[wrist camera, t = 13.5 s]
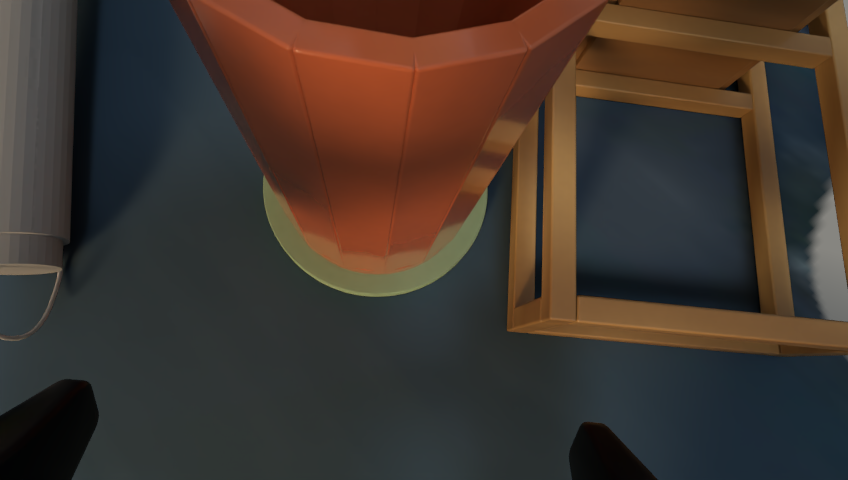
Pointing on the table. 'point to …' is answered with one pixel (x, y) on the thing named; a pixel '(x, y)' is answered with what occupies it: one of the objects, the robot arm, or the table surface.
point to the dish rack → (697, 92)
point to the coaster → (371, 282)
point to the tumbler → (383, 107)
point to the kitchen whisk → (36, 137)
